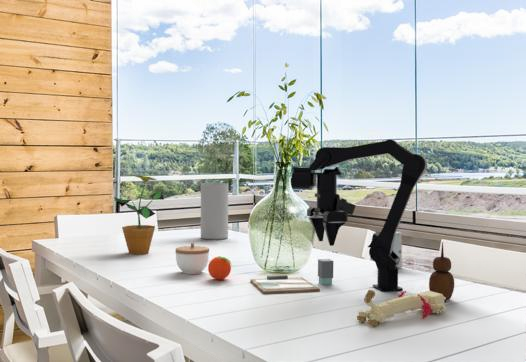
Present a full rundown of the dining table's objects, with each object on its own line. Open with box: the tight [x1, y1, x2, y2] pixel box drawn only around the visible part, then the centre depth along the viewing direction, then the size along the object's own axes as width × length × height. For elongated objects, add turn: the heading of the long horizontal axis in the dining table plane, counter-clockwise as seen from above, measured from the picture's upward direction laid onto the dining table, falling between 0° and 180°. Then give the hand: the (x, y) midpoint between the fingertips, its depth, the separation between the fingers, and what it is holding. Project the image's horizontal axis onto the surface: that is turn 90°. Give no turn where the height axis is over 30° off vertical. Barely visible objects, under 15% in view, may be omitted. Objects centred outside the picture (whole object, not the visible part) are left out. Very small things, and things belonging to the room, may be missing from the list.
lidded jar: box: [175, 242, 210, 275], centre depth 187 cm, size 11×11×9 cm
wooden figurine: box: [428, 241, 455, 301], centre depth 153 cm, size 7×6×15 cm
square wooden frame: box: [250, 274, 321, 295], centre depth 168 cm, size 16×16×2 cm
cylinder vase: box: [200, 182, 229, 241], centre depth 267 cm, size 12×12×25 cm
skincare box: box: [393, 231, 403, 269], centre depth 198 cm, size 6×4×12 cm
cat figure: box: [356, 289, 448, 328], centre depth 136 cm, size 10×9×25 cm
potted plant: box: [113, 174, 165, 256], centre depth 224 cm, size 18×19×30 cm
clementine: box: [207, 255, 233, 281], centre depth 176 cm, size 8×7×7 cm
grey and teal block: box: [317, 258, 334, 286], centre depth 172 cm, size 4×4×7 cm
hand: (326, 243), depth 171 cm, fingers open, 9 cm apart
